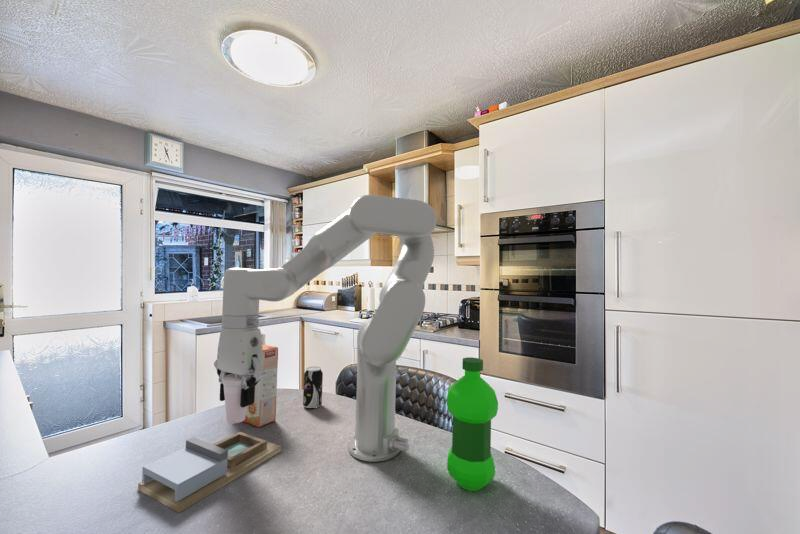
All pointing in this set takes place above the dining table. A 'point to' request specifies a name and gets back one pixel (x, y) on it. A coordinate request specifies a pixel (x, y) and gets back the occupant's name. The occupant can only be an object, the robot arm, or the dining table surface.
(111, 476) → the dining table surface
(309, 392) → the beverage can
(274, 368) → the cracker box
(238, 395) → the smoothie
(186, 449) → the lid
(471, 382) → the plastic bottle
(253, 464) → the board
